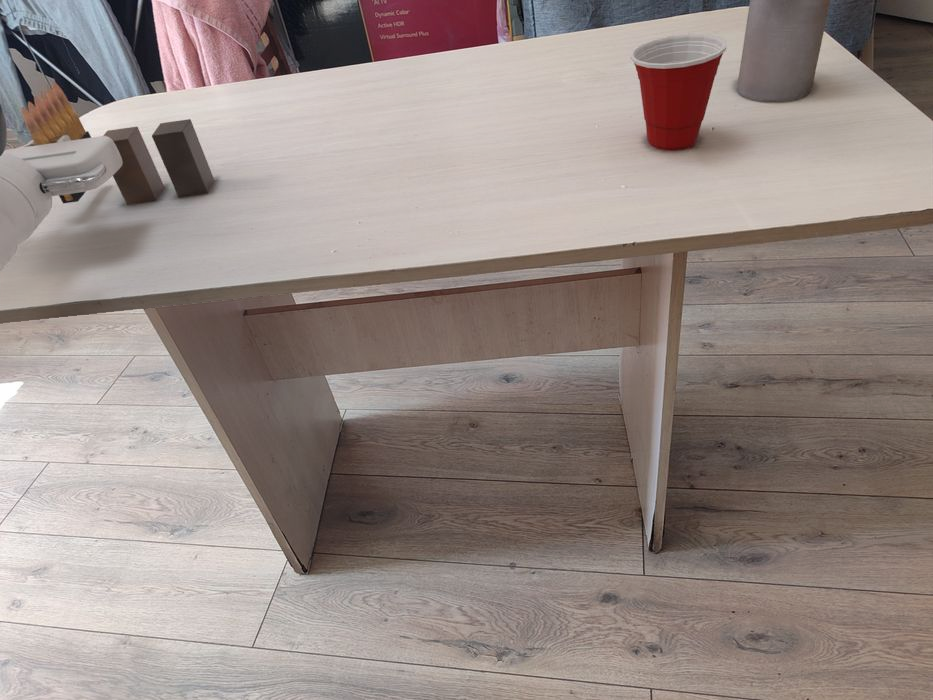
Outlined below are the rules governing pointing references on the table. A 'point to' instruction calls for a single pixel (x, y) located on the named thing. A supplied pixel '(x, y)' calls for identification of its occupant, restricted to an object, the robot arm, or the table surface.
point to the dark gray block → (183, 158)
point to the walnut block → (135, 167)
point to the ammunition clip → (54, 123)
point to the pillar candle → (781, 48)
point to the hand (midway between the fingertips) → (53, 143)
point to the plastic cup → (676, 86)
